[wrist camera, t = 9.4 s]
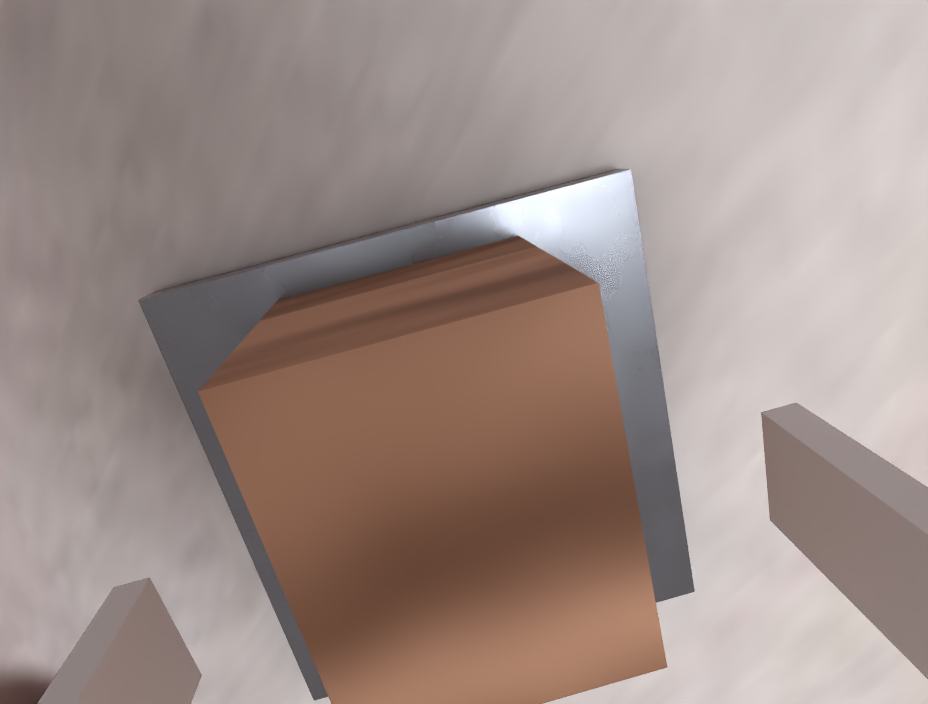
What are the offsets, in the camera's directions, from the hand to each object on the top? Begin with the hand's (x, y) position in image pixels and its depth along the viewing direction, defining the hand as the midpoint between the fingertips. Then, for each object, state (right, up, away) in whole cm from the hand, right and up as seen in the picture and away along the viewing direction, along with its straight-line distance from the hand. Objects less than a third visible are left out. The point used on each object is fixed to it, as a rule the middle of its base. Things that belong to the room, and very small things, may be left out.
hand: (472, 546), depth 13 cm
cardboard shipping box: (-1, +2, +8) cm, 8 cm away
